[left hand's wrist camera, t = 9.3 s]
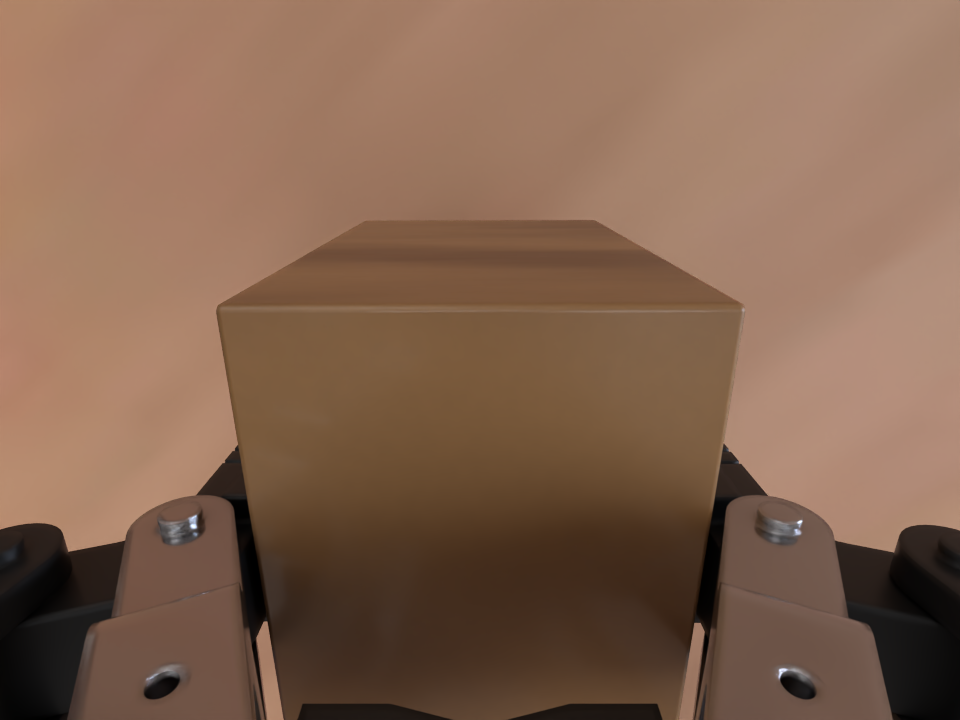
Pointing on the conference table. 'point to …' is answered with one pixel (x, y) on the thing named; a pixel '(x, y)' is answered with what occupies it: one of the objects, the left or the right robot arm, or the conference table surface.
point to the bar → (480, 464)
